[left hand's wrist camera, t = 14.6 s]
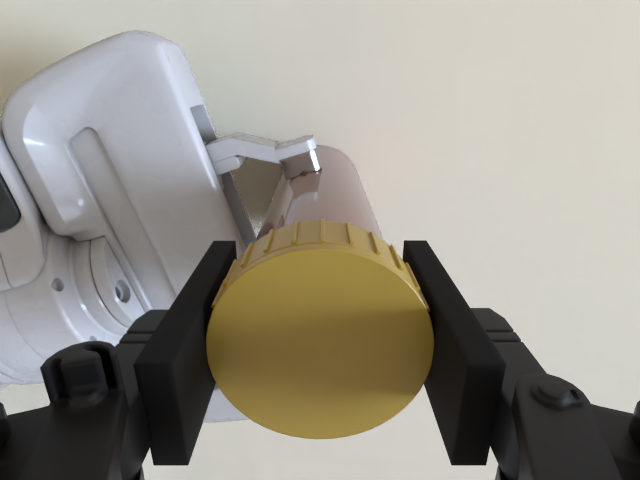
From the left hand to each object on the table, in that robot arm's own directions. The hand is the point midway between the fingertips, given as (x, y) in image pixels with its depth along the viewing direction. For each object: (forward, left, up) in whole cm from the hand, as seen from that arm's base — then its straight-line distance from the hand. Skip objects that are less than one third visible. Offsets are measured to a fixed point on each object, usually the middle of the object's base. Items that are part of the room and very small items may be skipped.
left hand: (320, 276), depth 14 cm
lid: (0, 0, +4) cm, 4 cm away
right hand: (0, -1, -6) cm, 7 cm away
